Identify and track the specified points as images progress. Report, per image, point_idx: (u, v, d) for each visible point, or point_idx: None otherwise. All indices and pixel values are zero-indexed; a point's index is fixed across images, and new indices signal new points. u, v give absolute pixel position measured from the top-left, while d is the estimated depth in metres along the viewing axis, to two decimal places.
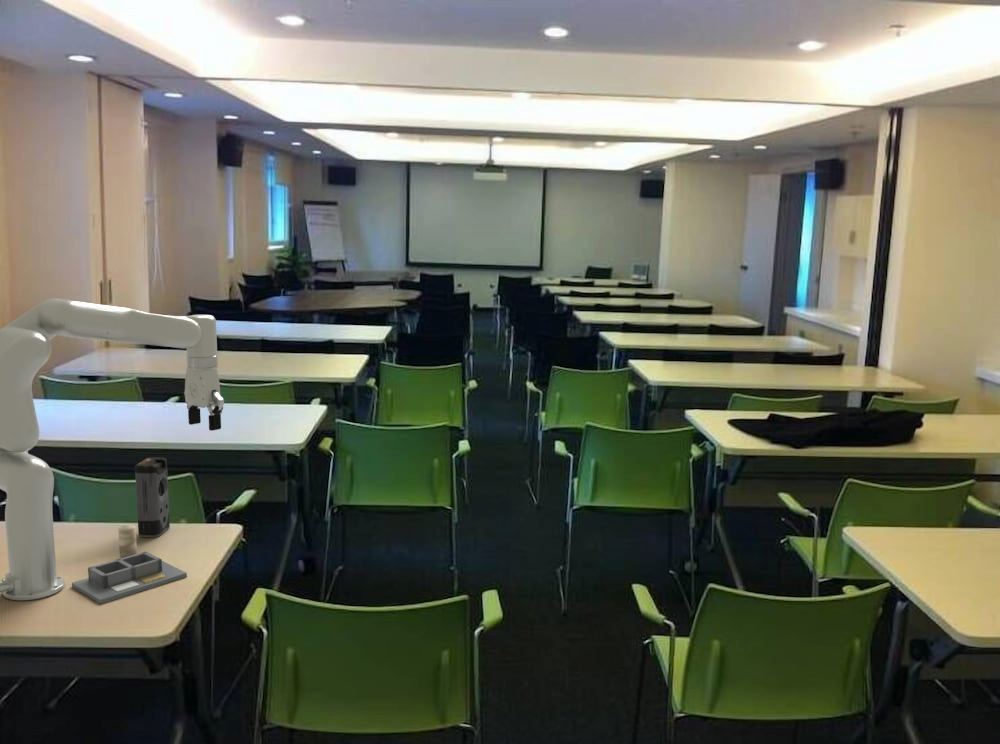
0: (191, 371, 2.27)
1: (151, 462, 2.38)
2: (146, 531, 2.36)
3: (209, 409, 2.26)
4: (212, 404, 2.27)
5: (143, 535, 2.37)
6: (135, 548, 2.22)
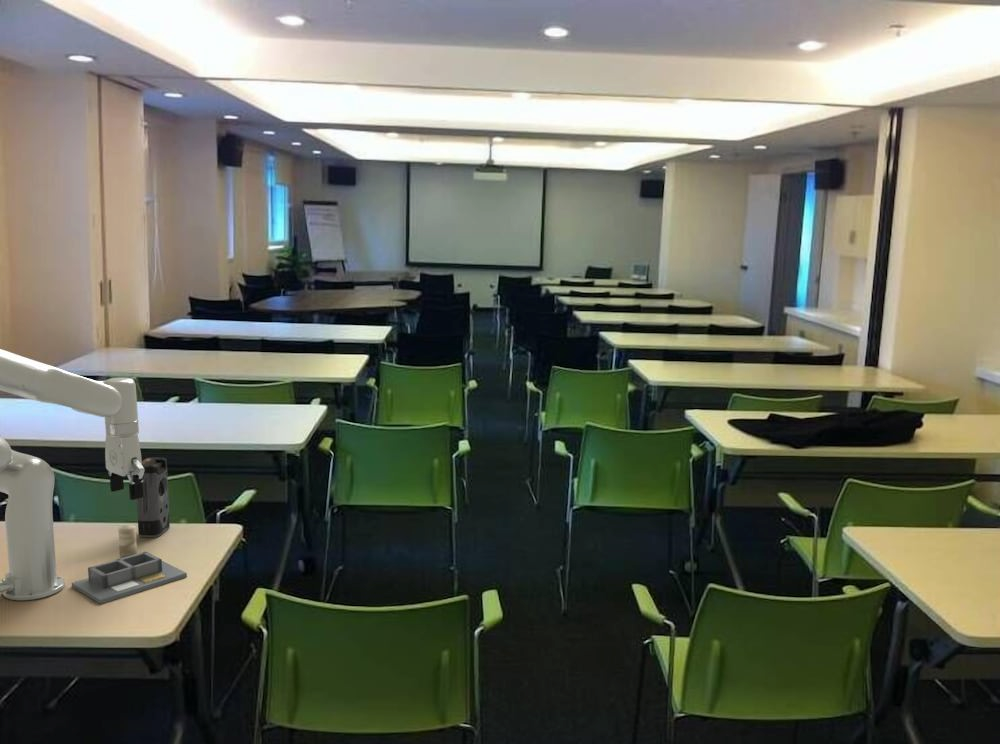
0: (110, 438, 2.16)
1: (151, 462, 2.38)
2: (146, 531, 2.36)
3: (129, 478, 2.15)
4: (133, 472, 2.16)
5: (143, 535, 2.37)
6: (135, 548, 2.22)
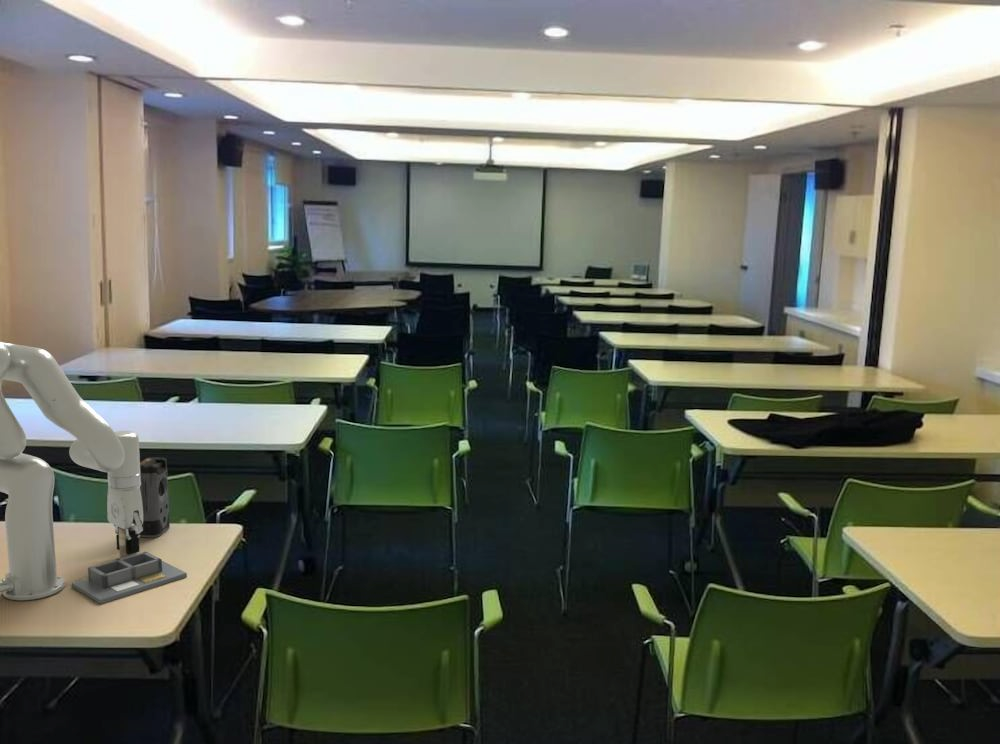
0: (112, 490, 2.18)
1: (151, 462, 2.38)
2: (146, 531, 2.36)
3: (127, 532, 2.18)
4: (132, 527, 2.19)
5: (143, 535, 2.37)
6: None
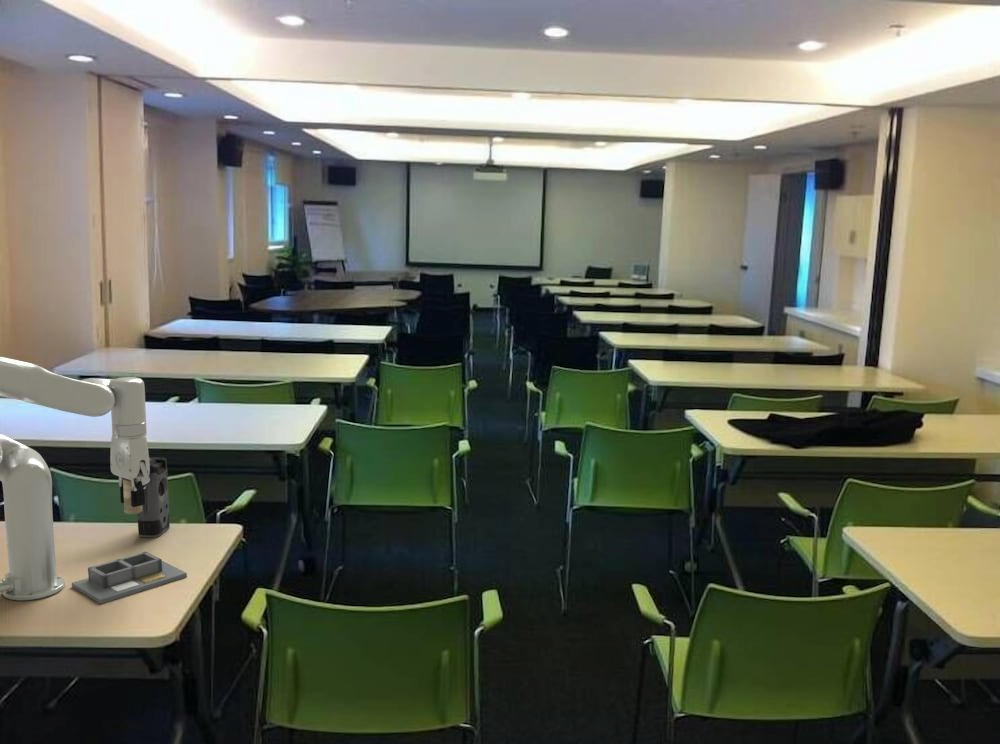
0: (117, 439, 2.08)
1: (151, 462, 2.38)
2: (146, 531, 2.36)
3: (132, 483, 2.08)
4: (137, 478, 2.09)
5: (143, 535, 2.37)
6: None
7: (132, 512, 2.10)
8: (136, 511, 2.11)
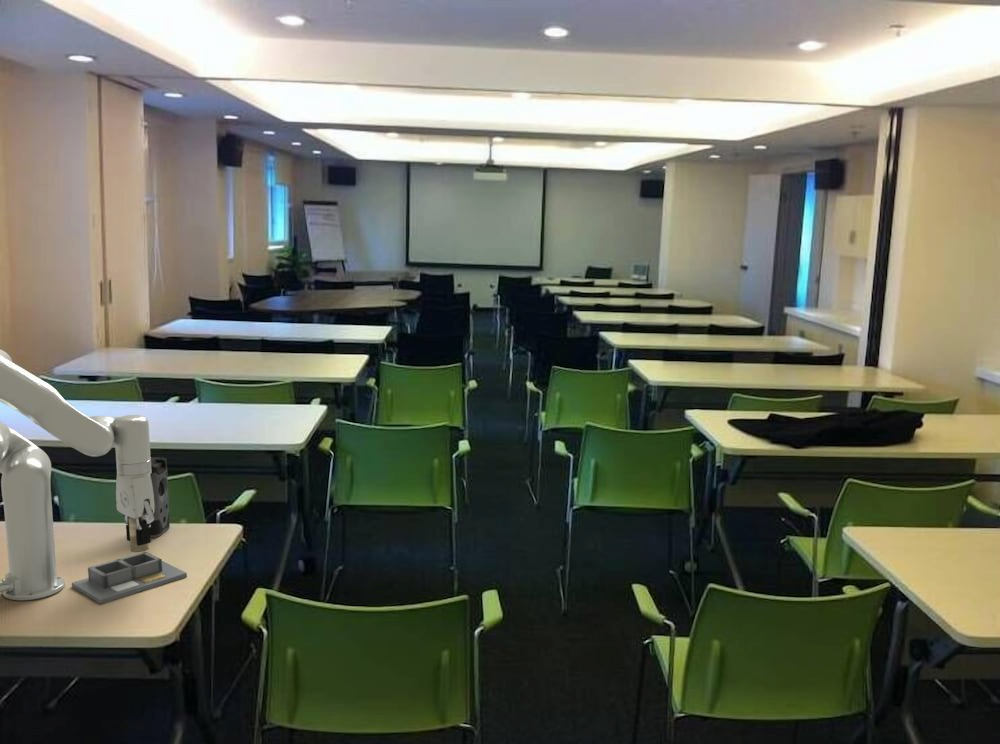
0: (121, 478, 2.06)
1: (151, 462, 2.38)
2: None
3: (137, 522, 2.07)
4: (142, 517, 2.07)
5: None
6: None
7: (138, 550, 2.09)
8: (142, 549, 2.09)
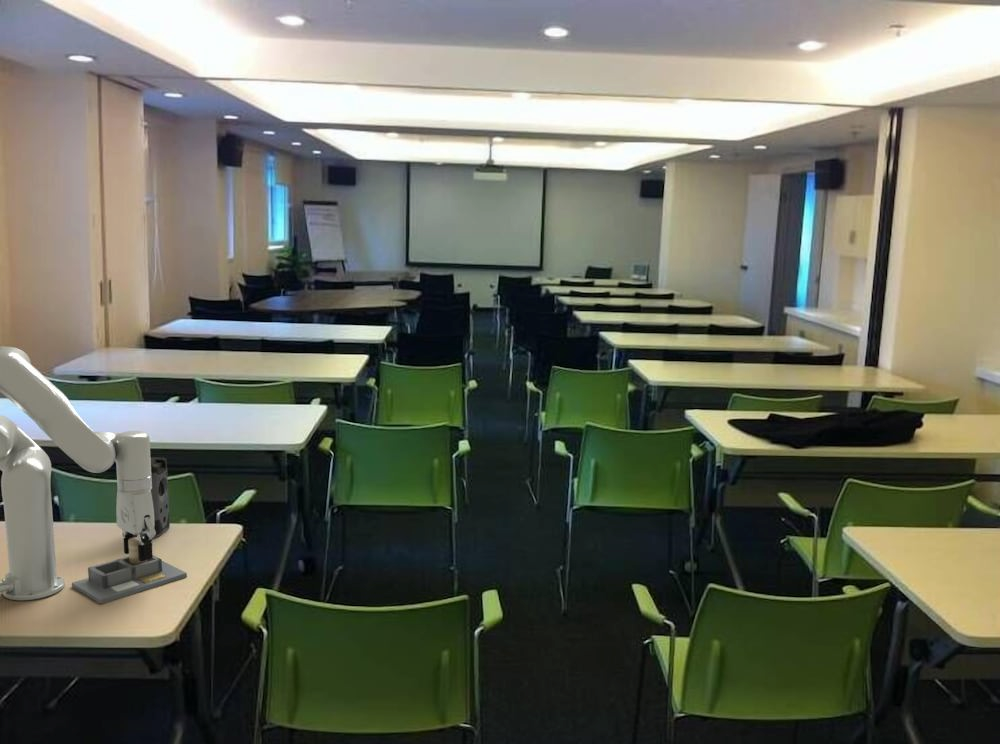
0: (122, 494, 2.07)
1: (151, 462, 2.38)
2: None
3: (139, 538, 2.07)
4: (143, 532, 2.07)
5: (143, 535, 2.37)
6: (146, 561, 2.11)
7: None
8: None
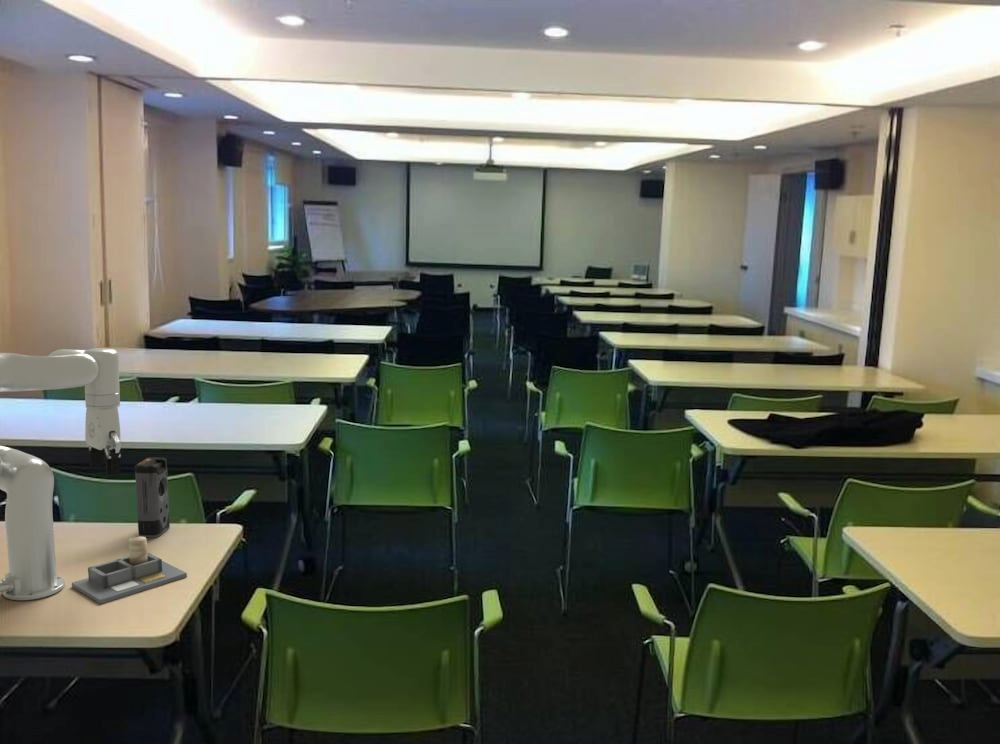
0: (90, 409, 2.09)
1: (151, 462, 2.38)
2: (146, 531, 2.36)
3: (106, 452, 2.07)
4: (110, 446, 2.08)
5: (143, 535, 2.37)
6: (146, 561, 2.11)
7: None
8: None
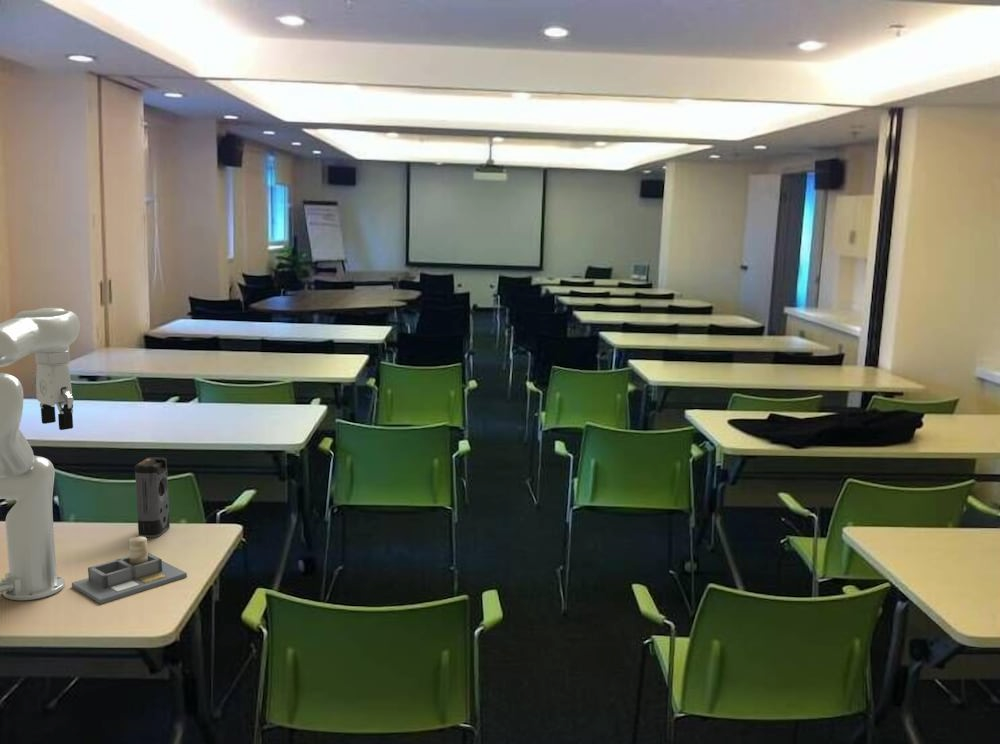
0: (40, 367, 2.16)
1: (151, 462, 2.38)
2: (146, 531, 2.36)
3: (58, 407, 2.15)
4: (62, 402, 2.16)
5: (143, 535, 2.37)
6: (146, 561, 2.11)
7: None
8: None
